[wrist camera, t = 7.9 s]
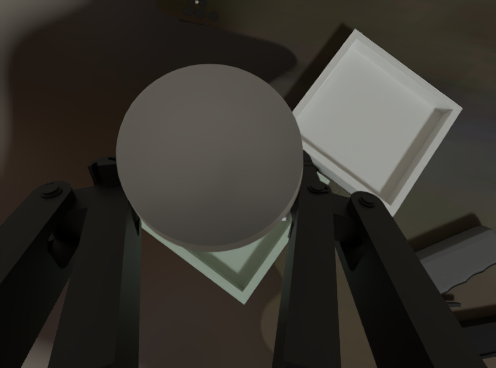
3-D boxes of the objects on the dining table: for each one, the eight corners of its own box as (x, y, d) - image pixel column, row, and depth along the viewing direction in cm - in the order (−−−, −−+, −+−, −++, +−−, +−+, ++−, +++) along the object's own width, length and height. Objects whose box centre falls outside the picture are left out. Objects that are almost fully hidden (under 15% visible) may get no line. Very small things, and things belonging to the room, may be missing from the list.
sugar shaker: (216, 145, 20) (194, 15, 7) (270, 185, 20) (353, 134, 7) (173, 198, 19) (55, 170, 6) (229, 241, 19) (232, 304, 6)
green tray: (215, 103, 29) (214, 95, 27) (323, 183, 28) (330, 181, 26) (128, 211, 27) (120, 211, 25) (243, 297, 26) (244, 304, 24)
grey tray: (346, 40, 31) (354, 28, 29) (447, 115, 30) (462, 108, 28) (274, 136, 29) (277, 131, 27) (381, 216, 28) (393, 216, 26)
